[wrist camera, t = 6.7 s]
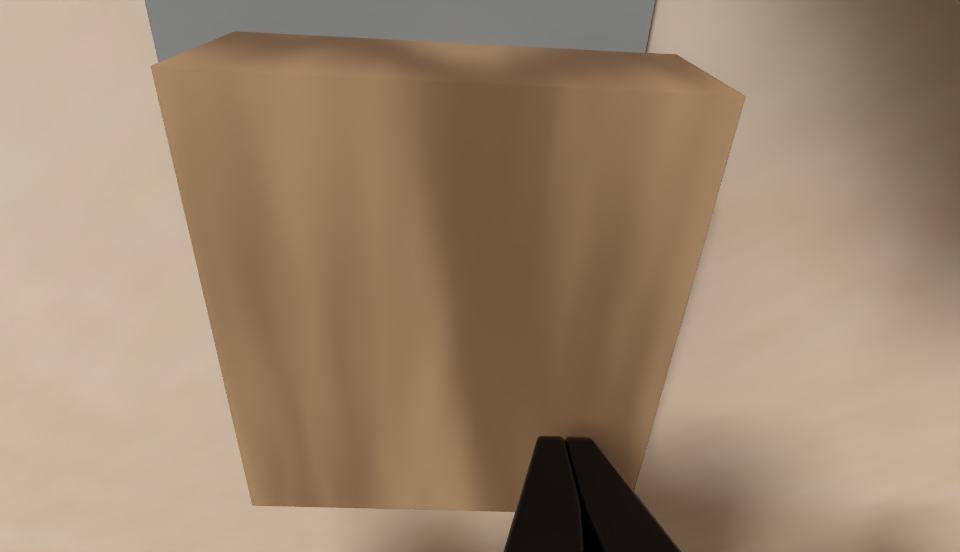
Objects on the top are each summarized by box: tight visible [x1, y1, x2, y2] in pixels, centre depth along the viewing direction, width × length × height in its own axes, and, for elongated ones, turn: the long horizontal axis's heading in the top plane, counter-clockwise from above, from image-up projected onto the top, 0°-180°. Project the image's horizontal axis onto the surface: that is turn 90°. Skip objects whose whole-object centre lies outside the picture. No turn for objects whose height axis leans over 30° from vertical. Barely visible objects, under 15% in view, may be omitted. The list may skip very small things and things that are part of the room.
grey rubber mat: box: [145, 0, 655, 63], centre depth 14 cm, size 10×14×1 cm
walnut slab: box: [151, 31, 745, 512], centre depth 13 cm, size 4×10×9 cm
